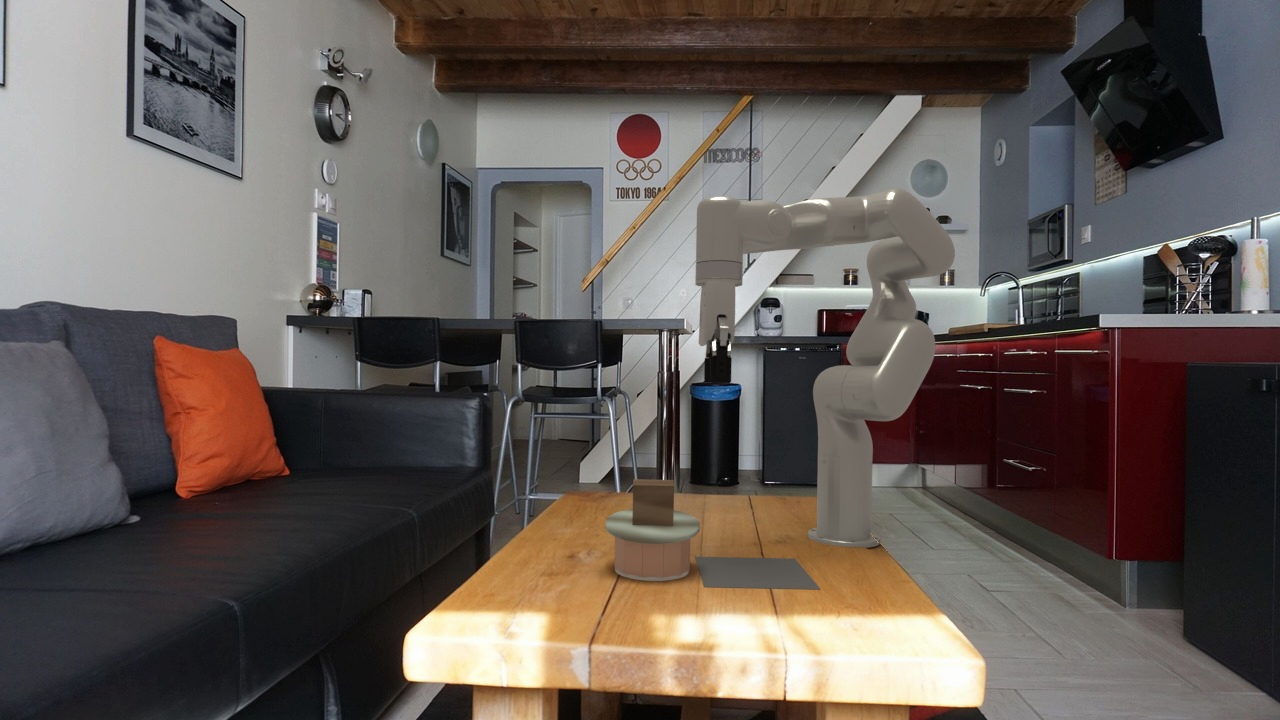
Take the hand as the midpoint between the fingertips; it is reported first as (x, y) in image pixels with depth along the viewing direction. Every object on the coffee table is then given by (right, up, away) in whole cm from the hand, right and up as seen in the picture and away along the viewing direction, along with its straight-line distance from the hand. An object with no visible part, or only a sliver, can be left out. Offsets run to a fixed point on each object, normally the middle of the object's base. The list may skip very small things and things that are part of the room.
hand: (717, 382), depth 114 cm
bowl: (-11, -28, -8) cm, 31 cm away
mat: (+4, -28, -8) cm, 30 cm away
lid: (-10, -21, -8) cm, 25 cm away
